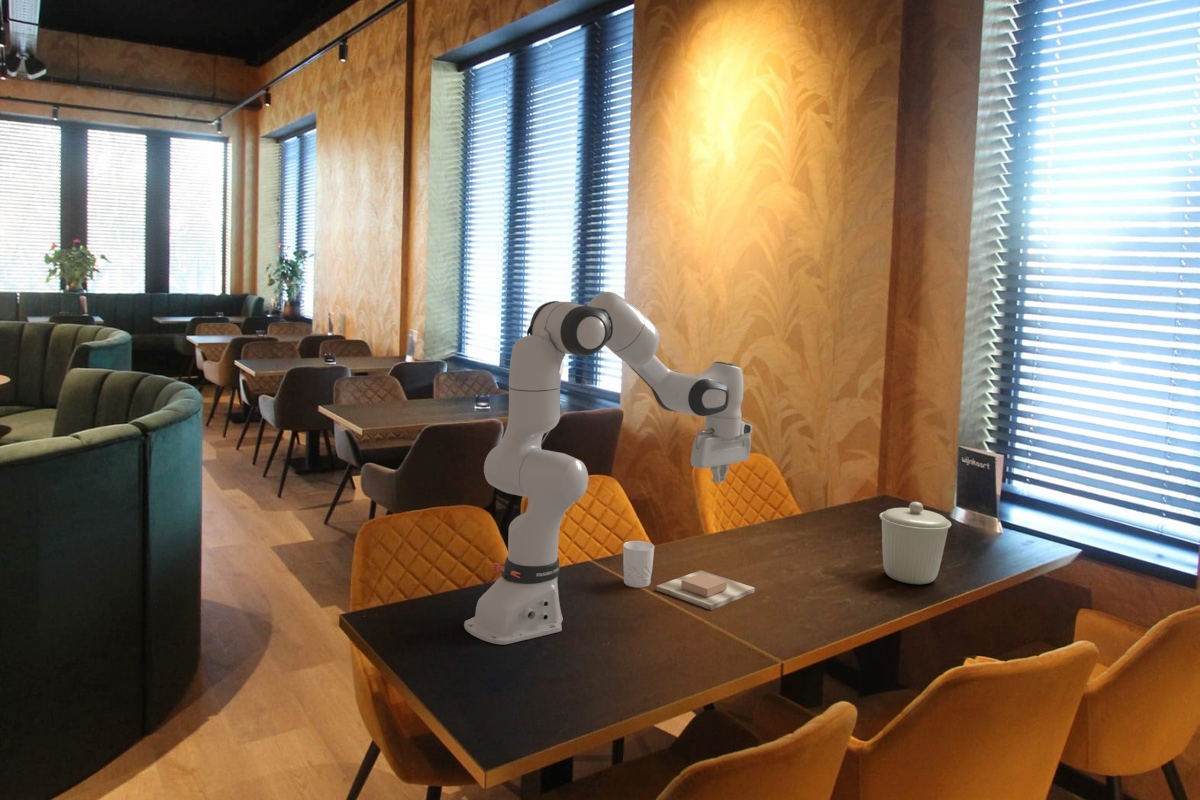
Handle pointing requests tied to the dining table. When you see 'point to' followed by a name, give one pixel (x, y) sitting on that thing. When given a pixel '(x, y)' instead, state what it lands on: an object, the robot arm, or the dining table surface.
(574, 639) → the dining table surface
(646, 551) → the white cup
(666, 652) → the dining table surface
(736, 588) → the board
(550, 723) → the dining table surface
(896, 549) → the canister
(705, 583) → the block
